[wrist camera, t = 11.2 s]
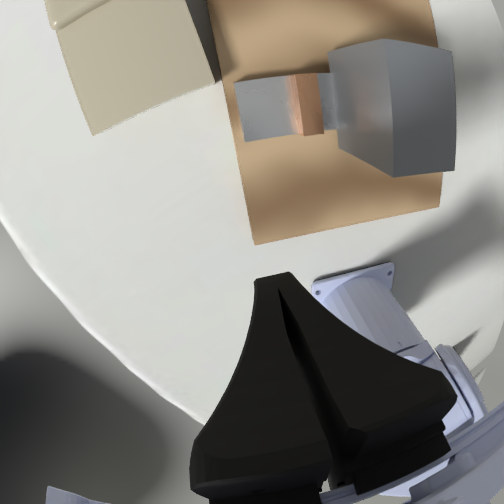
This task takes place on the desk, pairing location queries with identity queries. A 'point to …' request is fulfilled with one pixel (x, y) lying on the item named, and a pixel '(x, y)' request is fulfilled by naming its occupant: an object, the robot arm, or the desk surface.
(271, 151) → the mounting board
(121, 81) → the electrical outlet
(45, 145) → the desk surface
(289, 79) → the din rail
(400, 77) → the block
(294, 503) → the robot arm
